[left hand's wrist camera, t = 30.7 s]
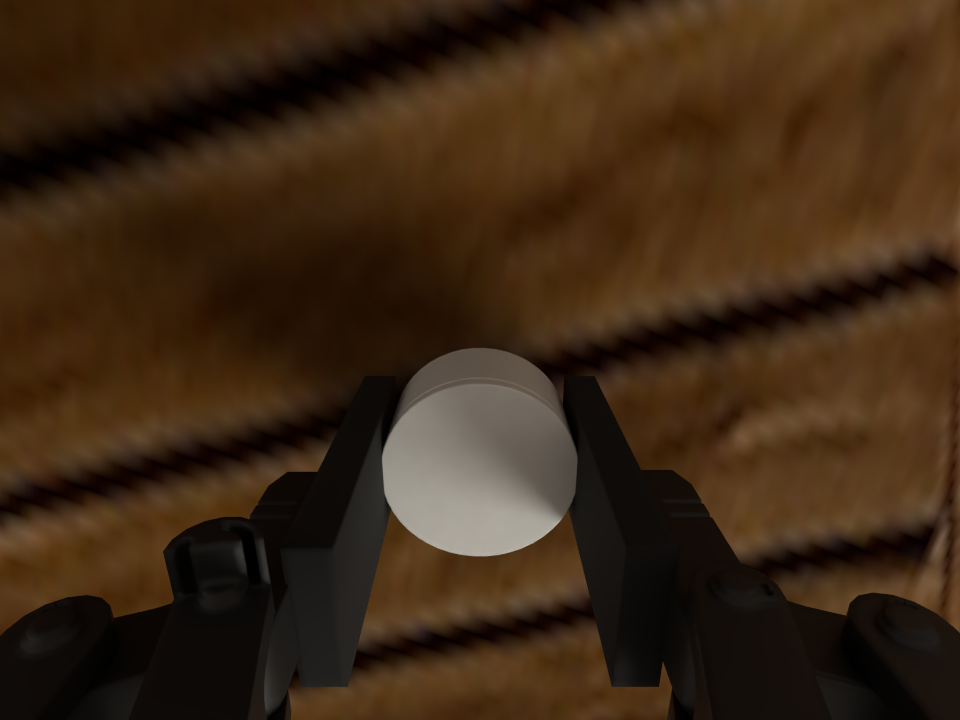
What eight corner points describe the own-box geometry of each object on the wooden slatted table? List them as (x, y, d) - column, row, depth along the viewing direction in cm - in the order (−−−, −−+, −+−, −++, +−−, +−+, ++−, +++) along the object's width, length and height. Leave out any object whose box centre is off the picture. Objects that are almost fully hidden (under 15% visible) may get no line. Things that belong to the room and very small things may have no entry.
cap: (417, 511, 16) (407, 570, 13) (375, 365, 14) (355, 405, 12) (576, 483, 15) (592, 539, 13) (550, 331, 14) (563, 366, 12)
